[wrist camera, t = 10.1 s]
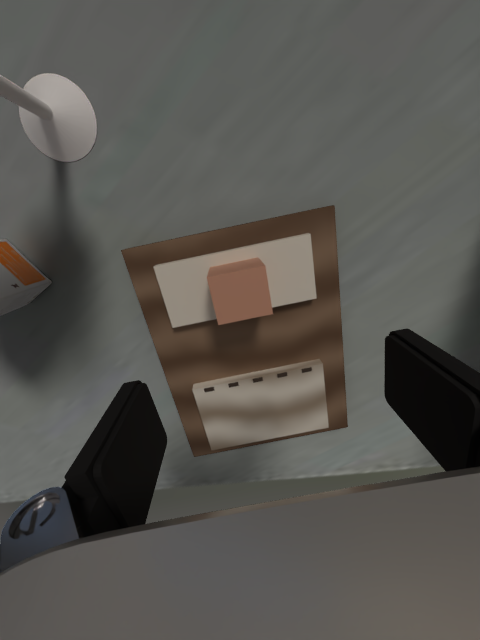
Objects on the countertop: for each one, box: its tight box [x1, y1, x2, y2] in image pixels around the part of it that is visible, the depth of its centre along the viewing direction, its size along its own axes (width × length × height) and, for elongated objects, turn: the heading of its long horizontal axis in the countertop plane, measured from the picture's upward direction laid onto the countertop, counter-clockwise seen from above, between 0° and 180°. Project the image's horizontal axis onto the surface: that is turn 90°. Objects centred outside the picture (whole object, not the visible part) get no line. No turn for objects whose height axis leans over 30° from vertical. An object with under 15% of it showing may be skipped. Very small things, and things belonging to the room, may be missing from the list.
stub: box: [153, 233, 317, 328], centre depth 26 cm, size 7×16×6 cm, turn 101°
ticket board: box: [121, 205, 348, 457], centre depth 32 cm, size 29×22×3 cm
